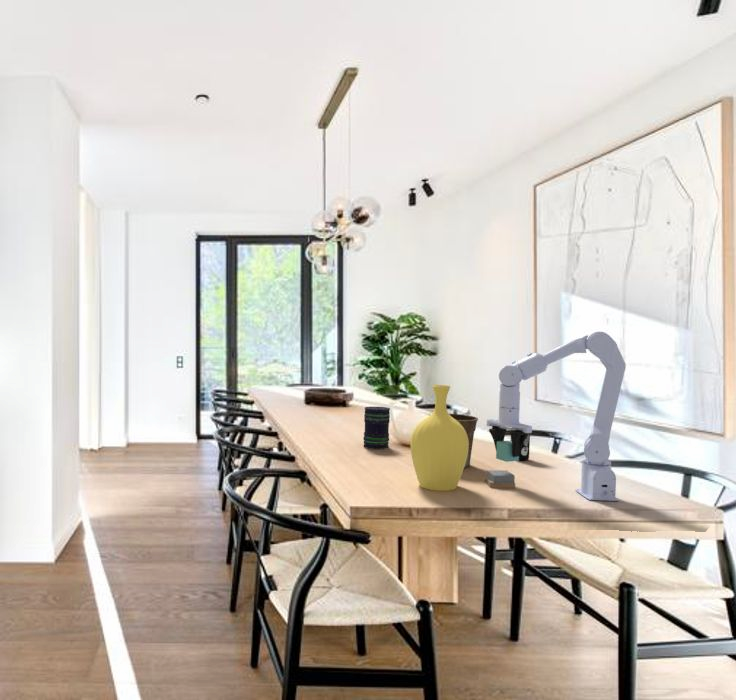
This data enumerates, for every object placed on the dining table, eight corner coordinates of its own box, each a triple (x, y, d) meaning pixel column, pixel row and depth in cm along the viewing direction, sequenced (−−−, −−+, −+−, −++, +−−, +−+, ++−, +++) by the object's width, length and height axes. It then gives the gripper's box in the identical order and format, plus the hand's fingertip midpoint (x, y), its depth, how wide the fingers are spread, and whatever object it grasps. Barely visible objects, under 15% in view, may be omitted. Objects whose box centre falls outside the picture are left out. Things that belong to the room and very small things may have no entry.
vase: (397, 485, 147) (400, 384, 147) (431, 476, 158) (434, 382, 158) (445, 497, 136) (449, 388, 136) (478, 486, 148) (481, 386, 148)
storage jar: (362, 444, 207) (363, 406, 207) (386, 444, 208) (388, 406, 208) (364, 449, 197) (365, 409, 197) (390, 449, 198) (391, 409, 198)
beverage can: (516, 461, 184) (517, 427, 184) (506, 457, 190) (507, 424, 190) (532, 461, 186) (533, 427, 185) (522, 457, 192) (523, 424, 192)
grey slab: (514, 482, 148) (514, 475, 148) (493, 482, 148) (493, 475, 148) (506, 477, 154) (506, 470, 154) (486, 477, 154) (486, 470, 154)
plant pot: (484, 464, 177) (485, 416, 177) (465, 473, 164) (466, 421, 164) (439, 457, 186) (441, 411, 186) (418, 465, 173) (420, 416, 173)
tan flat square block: (514, 490, 147) (515, 483, 147) (489, 489, 147) (490, 482, 147) (508, 484, 154) (508, 477, 154) (484, 483, 154) (484, 476, 154)
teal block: (518, 460, 151) (519, 443, 151) (506, 461, 149) (506, 444, 149) (508, 457, 155) (509, 440, 155) (496, 458, 153) (496, 441, 153)
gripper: (539, 409, 148) (537, 457, 149) (498, 404, 160) (496, 448, 160) (523, 410, 144) (521, 460, 144) (482, 405, 156) (481, 451, 156)
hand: (507, 454), depth 152 cm, fingers closed on teal block, 5 cm apart
